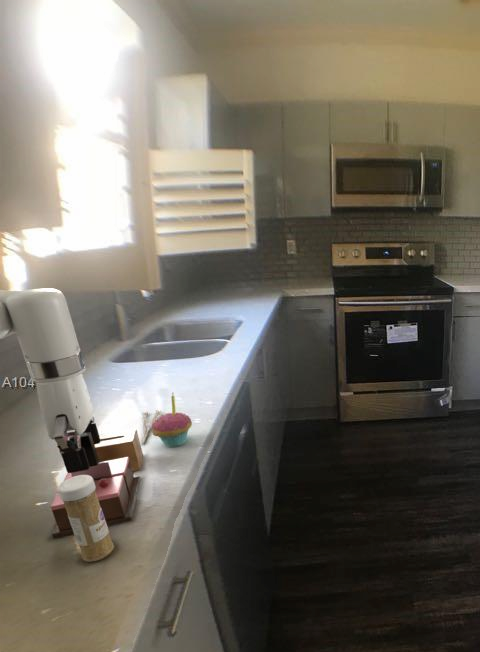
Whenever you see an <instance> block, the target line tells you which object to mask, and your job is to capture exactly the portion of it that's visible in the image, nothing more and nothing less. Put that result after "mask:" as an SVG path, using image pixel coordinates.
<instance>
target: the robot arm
mask: <svg viewBox="0 0 480 652" xmlns="http://www.w3.org/2000/svg"><path fill="white" fill-rule="evenodd" d="M15 334H16V338H17V340H18V343H19V346H20V349H21V352H22V356H23V359H24V362H25V364H26V366H27V370H28V373H29V376H30V379H31V381H33V382H34V383H35V385H36V393H37V398H38V403H39V407H40V411H41V415H42V419H43V422H44V425H45V429H46V433H47V436H48V438H49V439H51V440H54V441H55V443H56V445H57V446H56V447H57V448H58V450H59V454H60V455H61V458H62V462H63V464H64V467H65V470H66V472H67V473H73V472H79V471H84V470H88V469H89V467H90V466H89V463H88V460H87V456H86V453H85V450H84V447H83V448H81V440H80V435H81V434H82V433H88V432H91V435H92V439H93V442H94V444H99V443H100V441H101V440H100V437H99V435H100V433H99V430H98V425H97V423H96V422H95V421H96V420H95V417H94V408H93V404H92V400H91V396H90V394H89V390H88V387H87V384H86V381H85V378H84V375H83V373H85V372H86V370H87V368H86V364H85V361H84V358H83V354H82V351H81V347H80V344H79V341H78V338H77V334H76V330H75V326H74V323H73V320H72V317H71V312H70V309H69V305H68V302H67V299H66V297H65V294H63V292H62V291H60V290H58V289H56V288H49V287H47V288H31V289H25V290H5V289H0V340H3V339H5V338H8V337H10V336H12V335H15ZM71 437H74V440H75V443H74V442H73V441H71V440H69V438H71Z"/></svg>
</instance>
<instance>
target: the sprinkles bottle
mask: <svg viewBox="0 0 480 652" xmlns="http://www.w3.org/2000/svg"><path fill="white" fill-rule="evenodd" d="M58 492H59V495H60V498H61V500H63V502H64V505H65V508H66V511H67V514H68V518H69V521H70V524H71V527H72V529H73V532H74V533H73V535H74V537H75V540H76V543H77V544H78V546H79V550H80V553H81V558H82V560H83V561H84V562H89V563H91V562H97V561H101V560H102V559H105V558H106V557H108V556H109V555H110V554H111V553H112V551H113V550H114V548H115V545H114V543H113V542H112V541H113V540H112V538H111V535H110V532H109V527H108V526H107V524H106V521H105V518H104V515H103V512H102V509H101V507H100V504H99V501H98V498H97V495H96V492H95V483H94V480H93V478H92V477H91V476H89V475H78V476H74V477H71V478H69V479H67V480H65V481H64V480H63V481H61V483H60V484H59V485H58V486H57V493H58Z"/></svg>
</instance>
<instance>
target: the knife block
mask: <svg viewBox="0 0 480 652" xmlns="http://www.w3.org/2000/svg"><path fill="white" fill-rule="evenodd" d="M99 437H100V440H101V441H100V443H99V444H94V445H95V449H96V452H97V455H98V458H99V462H104V461H109V460H115V459H120V458H125V457H128V458H129V461H130V465H131V469H132V472H133V473H134V472H138V471H141V469H142V465H143V461H144V453H143V449H142V445H141V441H140V437H139V433H138V430H137V428H131V429H124V430H119V431H118V430H117V431H113V432H106V433H102V434H100V433H99Z"/></svg>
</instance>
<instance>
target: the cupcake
mask: <svg viewBox="0 0 480 652" xmlns="http://www.w3.org/2000/svg"><path fill="white" fill-rule="evenodd" d="M175 398H176V397H175V395H174V392H172V395H171V397H170V400H171V412H167V413H164V414H163V415H161V416H160V417H157V418H156V419H155V420H154V422H153V424H152V426H151V433H152V435H153V436H154V437H158V438H159V439H160V440H161V441H162V443H163V445H164V446H165V447H167V448H176V447H179V446H182V445H184V444H185V443H186V442H187V440H188V433H189V430H190V429H191V427H192V425H193V422H192V418H191V417H190V416H189V415H187V414H186V413H183V412H177V411H176V401H175V400H176V399H175Z"/></svg>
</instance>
